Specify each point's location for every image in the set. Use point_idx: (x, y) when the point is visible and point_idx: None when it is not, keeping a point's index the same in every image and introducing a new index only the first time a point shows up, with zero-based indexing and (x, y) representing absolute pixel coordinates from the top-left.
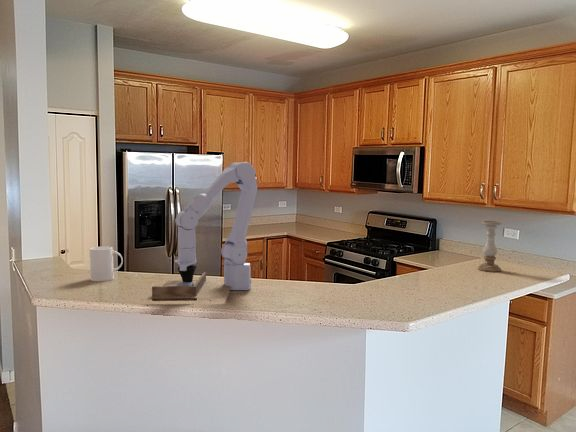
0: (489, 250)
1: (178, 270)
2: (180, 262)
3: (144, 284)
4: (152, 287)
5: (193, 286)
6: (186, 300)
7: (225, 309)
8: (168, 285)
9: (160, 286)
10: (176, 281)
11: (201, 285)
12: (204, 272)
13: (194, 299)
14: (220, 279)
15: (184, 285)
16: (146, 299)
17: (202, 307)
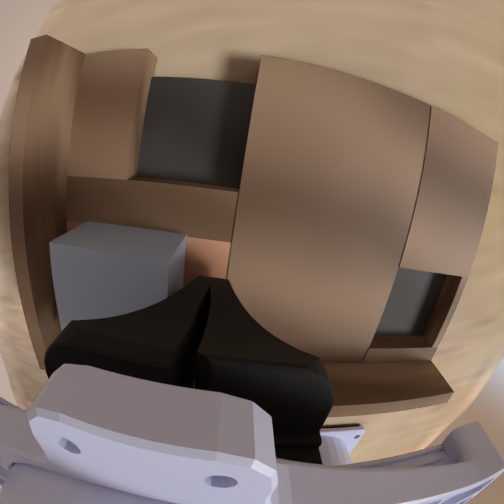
0: None
1: (67, 327)
2: (5, 453)
3: (486, 28)
4: (32, 44)
5: (39, 357)
6: None
7: (17, 389)
8: (392, 132)
9: (25, 102)
10: (473, 198)
11: None
12: (447, 397)
13: None
14: (458, 389)
15: (57, 303)
16: (130, 18)
17: (9, 333)
